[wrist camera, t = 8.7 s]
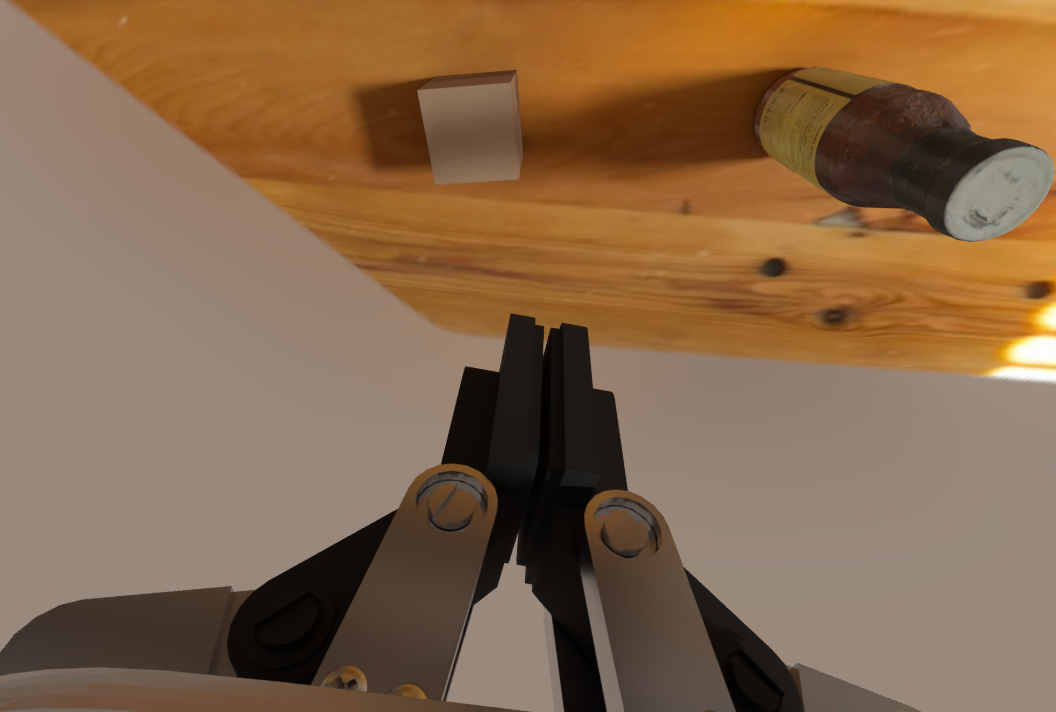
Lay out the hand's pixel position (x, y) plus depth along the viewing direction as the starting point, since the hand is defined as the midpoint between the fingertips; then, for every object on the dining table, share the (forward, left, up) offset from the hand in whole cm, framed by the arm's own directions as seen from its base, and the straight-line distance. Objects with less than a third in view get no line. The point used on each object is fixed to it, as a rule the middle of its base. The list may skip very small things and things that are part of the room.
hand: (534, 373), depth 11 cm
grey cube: (+2, -5, -32) cm, 33 cm away
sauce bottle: (-3, +18, -32) cm, 37 cm away
